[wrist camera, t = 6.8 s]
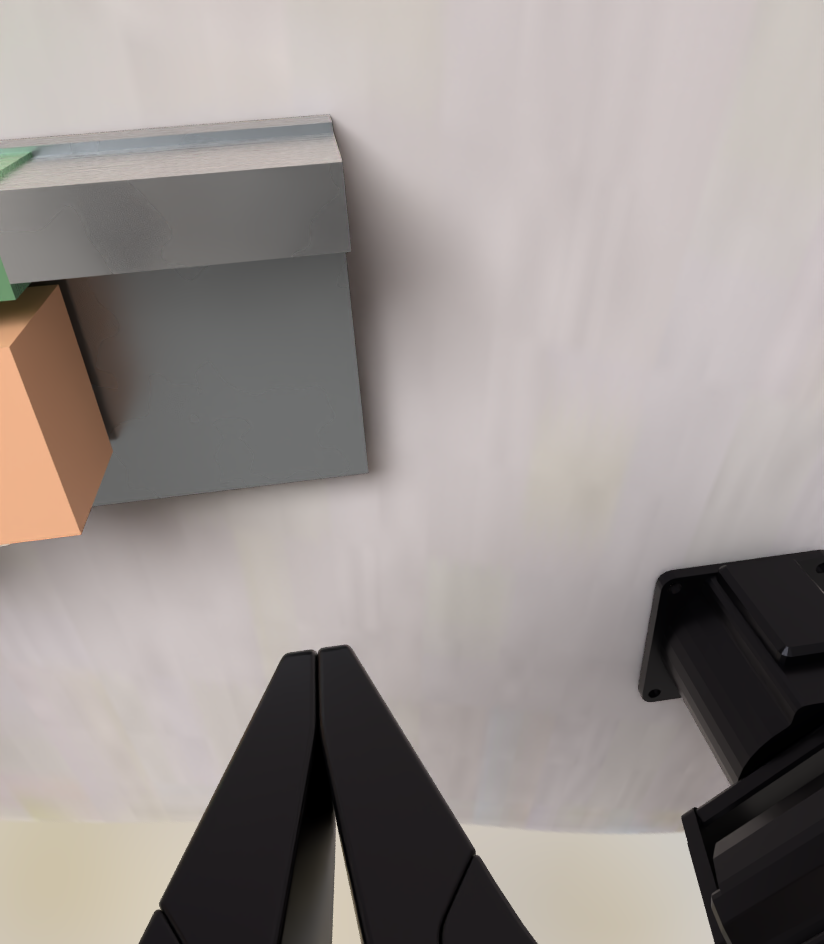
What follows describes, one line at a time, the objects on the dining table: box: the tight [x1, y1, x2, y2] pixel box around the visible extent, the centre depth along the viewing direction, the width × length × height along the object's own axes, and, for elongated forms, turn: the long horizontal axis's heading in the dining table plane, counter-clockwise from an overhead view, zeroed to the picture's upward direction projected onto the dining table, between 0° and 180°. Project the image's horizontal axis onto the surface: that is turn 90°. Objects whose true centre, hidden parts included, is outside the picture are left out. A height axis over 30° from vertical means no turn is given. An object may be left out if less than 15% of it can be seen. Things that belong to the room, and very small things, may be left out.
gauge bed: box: [0, 114, 368, 506], centre depth 17 cm, size 9×14×4 cm, turn 93°
